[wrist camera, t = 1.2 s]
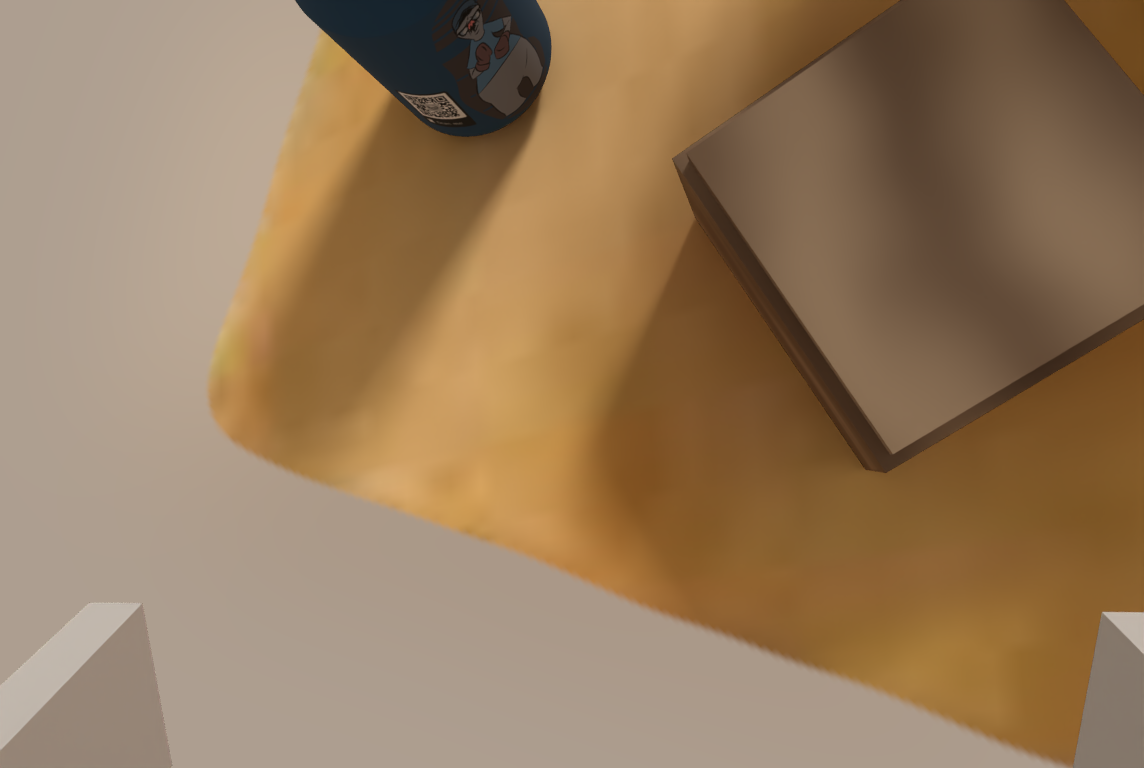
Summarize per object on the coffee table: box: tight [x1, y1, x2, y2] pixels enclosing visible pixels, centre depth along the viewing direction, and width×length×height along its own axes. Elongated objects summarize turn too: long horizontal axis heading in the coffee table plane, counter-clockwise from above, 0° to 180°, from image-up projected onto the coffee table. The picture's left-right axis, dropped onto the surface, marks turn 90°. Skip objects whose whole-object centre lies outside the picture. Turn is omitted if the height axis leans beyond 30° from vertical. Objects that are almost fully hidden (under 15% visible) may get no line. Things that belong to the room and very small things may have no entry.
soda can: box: [296, 0, 551, 137], centre depth 32 cm, size 7×7×12 cm
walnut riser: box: [672, 0, 1144, 473], centre depth 29 cm, size 12×12×8 cm
